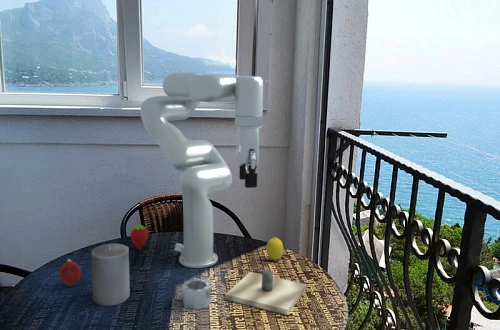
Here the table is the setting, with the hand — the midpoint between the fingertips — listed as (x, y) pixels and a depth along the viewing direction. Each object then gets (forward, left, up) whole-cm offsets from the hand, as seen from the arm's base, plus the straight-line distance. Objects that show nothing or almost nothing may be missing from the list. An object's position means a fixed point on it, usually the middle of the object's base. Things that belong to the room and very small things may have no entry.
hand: (247, 183), depth 128 cm
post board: (+8, -3, -30) cm, 32 cm away
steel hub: (-7, -16, -31) cm, 35 cm away
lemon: (+1, +20, -31) cm, 37 cm away
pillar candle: (-29, -24, -31) cm, 48 cm away
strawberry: (-44, +7, -31) cm, 54 cm away
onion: (-44, -24, -31) cm, 59 cm away
